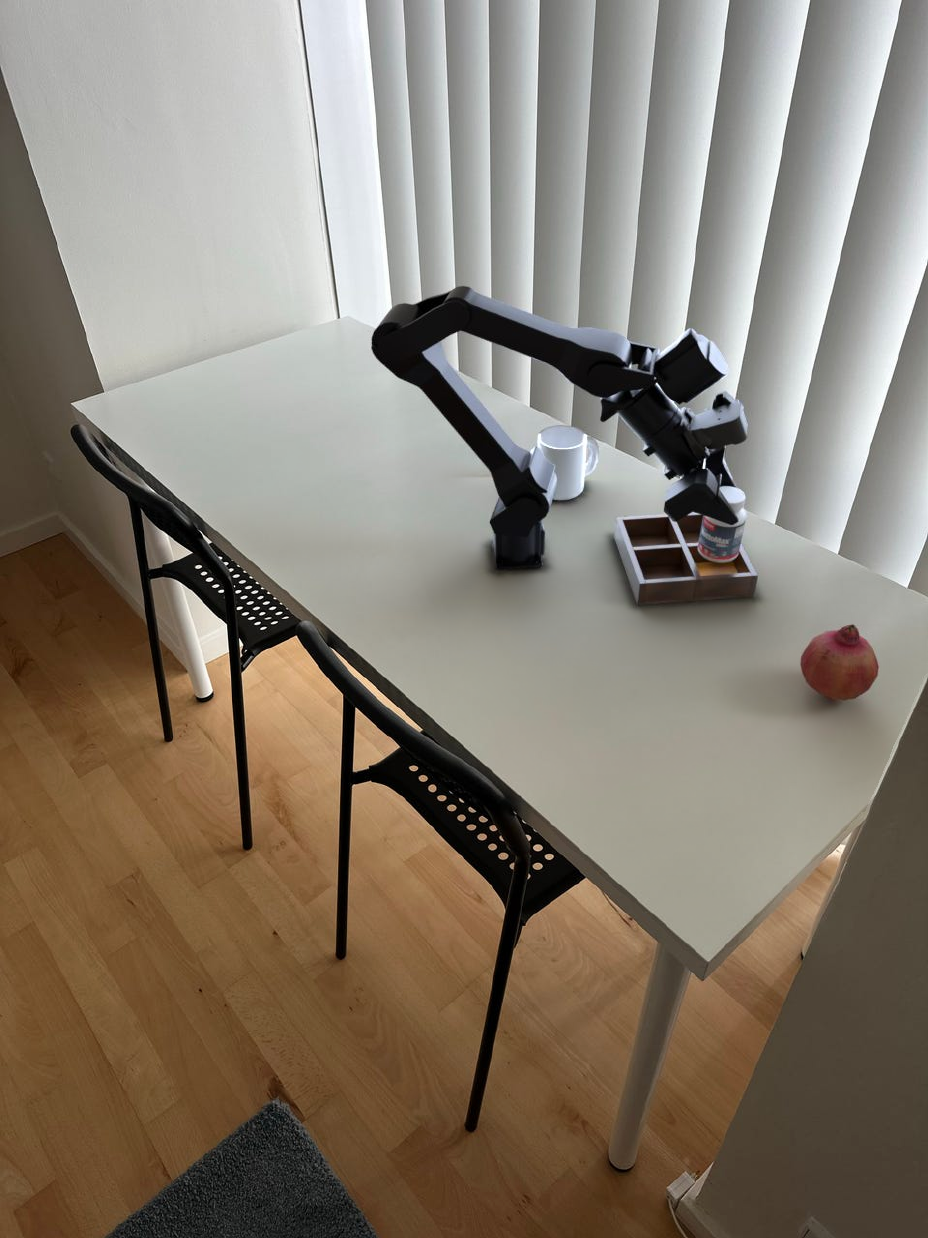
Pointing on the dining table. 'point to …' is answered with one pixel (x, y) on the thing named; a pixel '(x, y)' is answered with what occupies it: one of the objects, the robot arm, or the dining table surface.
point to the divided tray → (677, 562)
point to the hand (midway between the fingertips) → (736, 511)
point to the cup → (568, 458)
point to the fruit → (839, 664)
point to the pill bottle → (723, 530)
